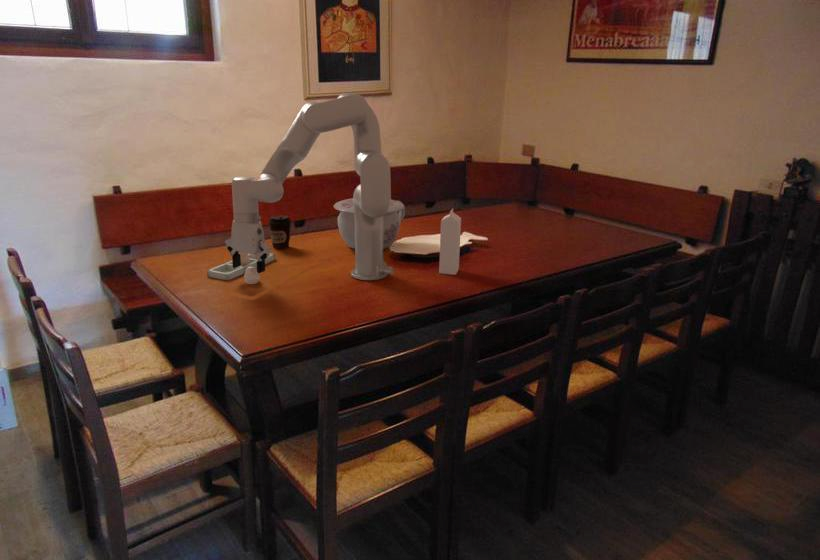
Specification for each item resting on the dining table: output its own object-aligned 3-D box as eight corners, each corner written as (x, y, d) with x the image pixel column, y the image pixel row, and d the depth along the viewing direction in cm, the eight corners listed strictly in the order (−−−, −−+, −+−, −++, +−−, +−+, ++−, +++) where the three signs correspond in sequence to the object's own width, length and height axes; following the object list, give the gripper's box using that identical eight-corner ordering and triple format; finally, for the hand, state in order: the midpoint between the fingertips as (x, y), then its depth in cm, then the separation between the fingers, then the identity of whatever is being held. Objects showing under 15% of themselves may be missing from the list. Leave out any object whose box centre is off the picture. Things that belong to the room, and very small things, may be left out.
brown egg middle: (252, 266, 204) (251, 249, 202) (243, 270, 200) (242, 253, 198) (242, 264, 206) (240, 247, 204) (232, 268, 202) (231, 251, 200)
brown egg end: (267, 260, 211) (266, 243, 209) (258, 264, 207) (257, 247, 205) (256, 258, 213) (255, 241, 211) (247, 262, 209) (246, 245, 207)
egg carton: (237, 255, 219) (237, 247, 218) (275, 262, 212) (274, 254, 211) (188, 275, 198) (187, 266, 197) (228, 283, 191) (227, 274, 190)
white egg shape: (262, 283, 191) (261, 265, 189) (253, 288, 187) (251, 269, 185) (251, 281, 193) (249, 263, 191) (241, 285, 189) (239, 267, 187)
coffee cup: (287, 253, 222) (285, 220, 218) (266, 252, 224) (264, 218, 219) (295, 247, 230) (294, 215, 226) (276, 245, 232) (274, 213, 227)
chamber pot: (331, 256, 220) (329, 202, 213) (337, 236, 246) (336, 187, 238) (406, 257, 221) (407, 202, 214) (404, 237, 247) (405, 188, 240)
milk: (438, 273, 204) (440, 211, 196) (442, 268, 209) (444, 207, 202) (456, 275, 203) (458, 212, 195) (459, 269, 208) (461, 208, 201)
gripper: (276, 218, 182) (278, 270, 188) (232, 211, 189) (235, 261, 195) (261, 223, 176) (263, 277, 182) (216, 215, 183) (219, 268, 188)
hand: (248, 269), depth 188 cm, fingers open, 9 cm apart
